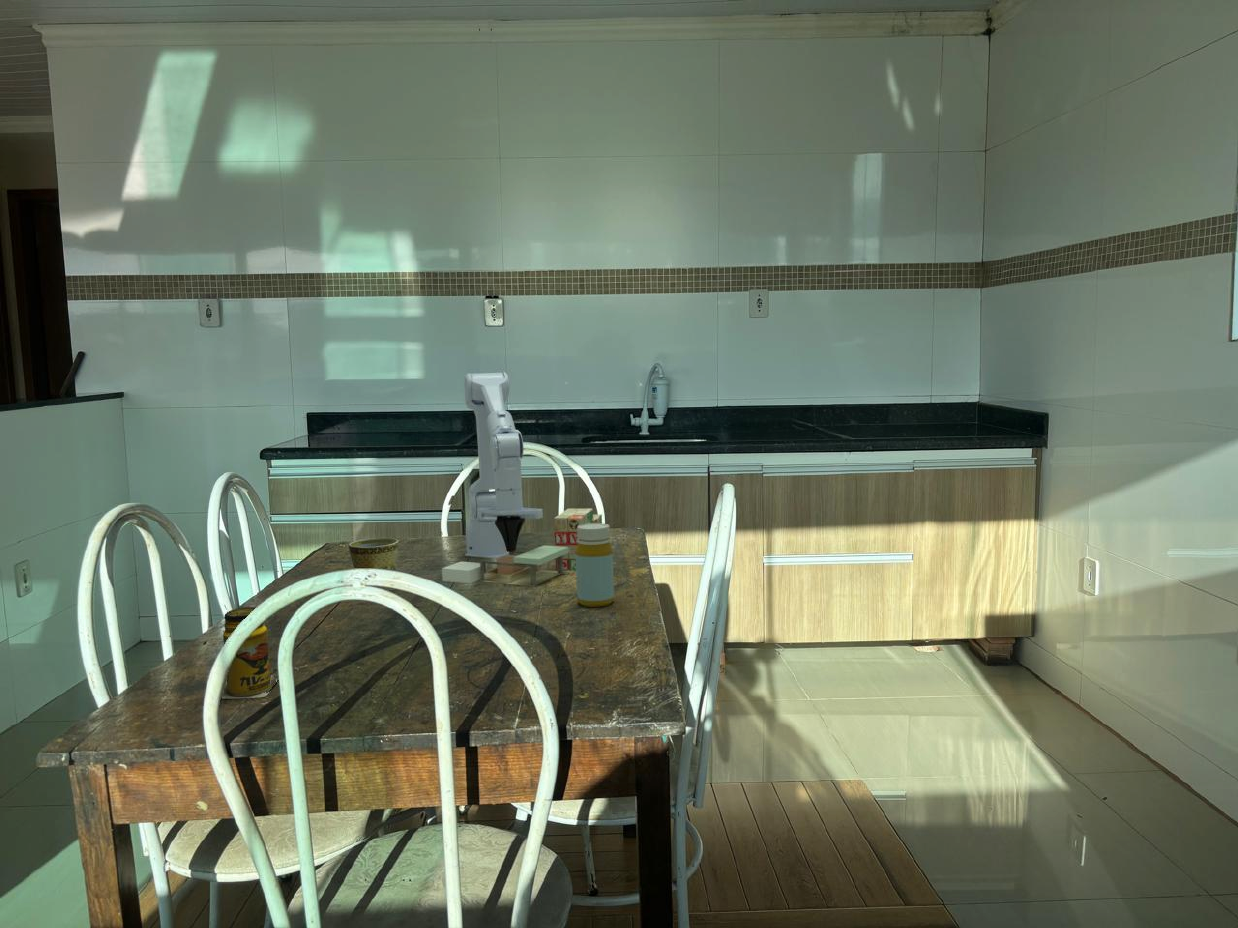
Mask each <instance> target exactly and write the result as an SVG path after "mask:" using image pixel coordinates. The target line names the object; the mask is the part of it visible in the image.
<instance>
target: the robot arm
mask: <svg viewBox="0 0 1238 928" xmlns="http://www.w3.org/2000/svg"><path fill="white" fill-rule="evenodd" d="M509 395H510V379H509V375H508V374H507V373H506V372H505V371H503V372H489V373H488V372H485V373H484V372H482V373H471V372H470V373H466V374H465V376H464V398H465V404H466V408H468V409H470V410H473V413H474V415H475V423H476V424H475V425H476V438H477V456H478V472H479V477H478V479H477V480H475V481H474V482H473V483H472V484H471V485H470V486H469V489H468V512H469V516H470V517H471V518H470V519H469V520H468V521H467V523H466V526H465V540H466V541H465V542H466V553H465V554H464V556H465V557H475V558H485V559H487V558H489V559H497V558H500V557H503V556H505V555H509V552H513V551H515V550H517V545H518V544H517V543H518V540H519V535H520V532H521V530H522V527H523V525H524V523H525V521H526V519H534V520H540V519H543V518H544V515H543V511H544V509H543V508H534V507H533V508H531V507H523V506H524V504H523V502H524V501H523V483H522V479H523V478H522V461H521V459H523V457H524V448H525V447H524V440H523V436H522V433H521V431H519V430H518V429H516V426H515V423H514V419H513V416H512V414H511V413H510V412H509V411H507V410H506V407H505V405H506V402H507V400H508V398H509ZM490 490H492V491H490Z"/></svg>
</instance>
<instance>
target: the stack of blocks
mask: <svg viewBox="0 0 1238 928" xmlns="http://www.w3.org/2000/svg"><path fill="white" fill-rule="evenodd" d="M553 519H554V521H553V522H554V523H553V524H554V525H553V526H554V546H560V547H569V553H567V554H564V555H562V561H563V571H576V549H577V545H578V537H577V527H578V526H579V525H582V524H590V523H602V524H603V514H602V513H600V514H599V513H597V514H594V508H592V507H591V508H587V507H586V508H572V507H571V508H567V509H565V510H564V511H562V512H561V513H560V514H558V515H556V517H554V518H553ZM555 570H556V571H558V562H557V558H555Z"/></svg>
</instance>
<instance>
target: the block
mask: <svg viewBox="0 0 1238 928" xmlns="http://www.w3.org/2000/svg"><path fill="white" fill-rule="evenodd" d="M515 556H516V555H515V554H514V555H509V554H508V555H505V556H503V557H500V558H496V562H508V563H514V557H515ZM520 564H522V563H520ZM496 565H497V564H496ZM496 567H497V569H498V574H504V575H510V574H512V573H515V572H517V571H520V570H522V569H523V567H522V566H509V565H497V566H496Z"/></svg>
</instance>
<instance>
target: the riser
mask: <svg viewBox="0 0 1238 928" xmlns="http://www.w3.org/2000/svg"><path fill="white" fill-rule="evenodd" d="M488 567H489V564H486V571H488V570H489V568H488ZM441 575H442V576H441V577H442V580H441V581H442V582H447V583H449V582H450V583H461V584H472V583H475V582H477V581H481V570H480V562H470V561H459V562H455V563H453V564H450V565H446V566H445V567H442V568H441Z"/></svg>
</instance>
